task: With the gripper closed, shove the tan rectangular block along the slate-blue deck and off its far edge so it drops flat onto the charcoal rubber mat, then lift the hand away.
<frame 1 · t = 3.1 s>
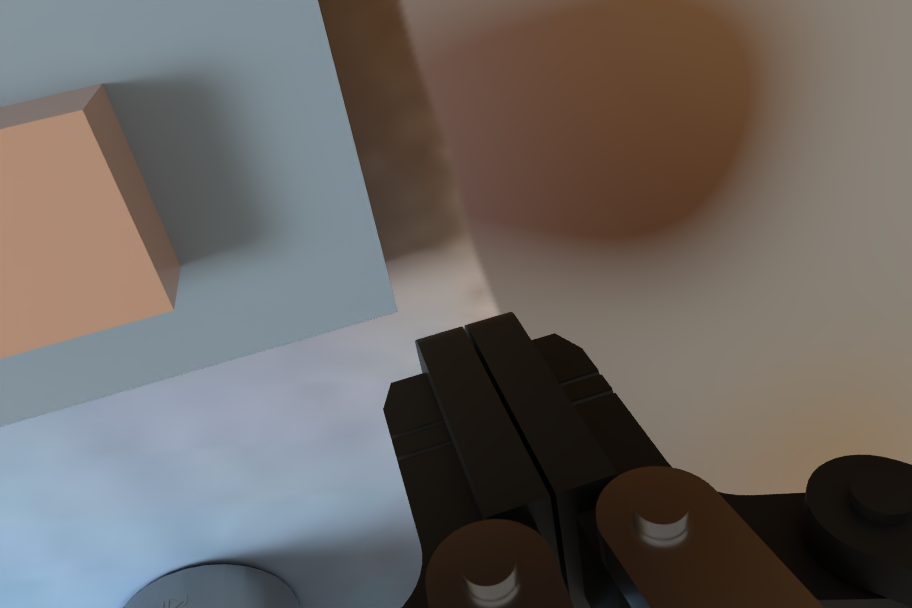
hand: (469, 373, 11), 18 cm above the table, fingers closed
deck: (55, 168, 25), on the table
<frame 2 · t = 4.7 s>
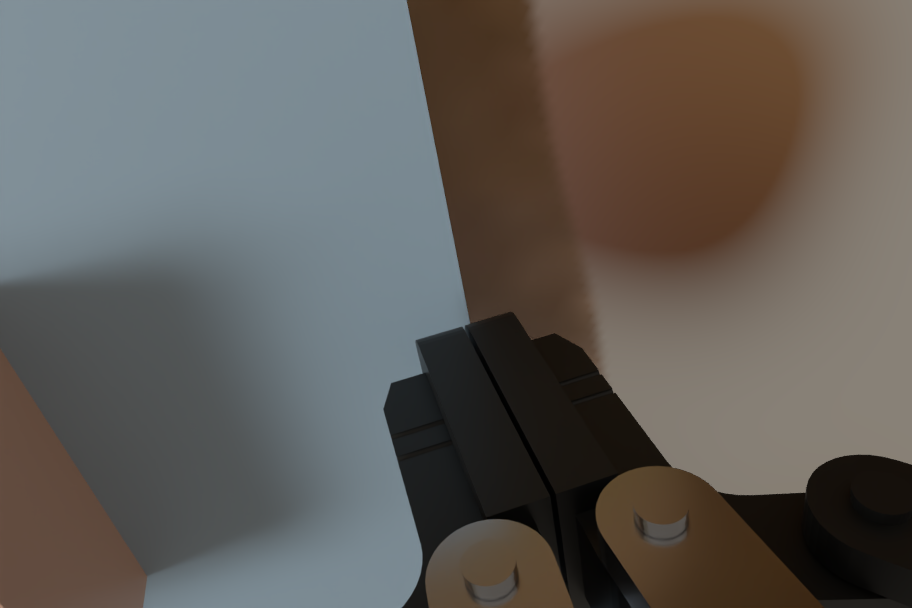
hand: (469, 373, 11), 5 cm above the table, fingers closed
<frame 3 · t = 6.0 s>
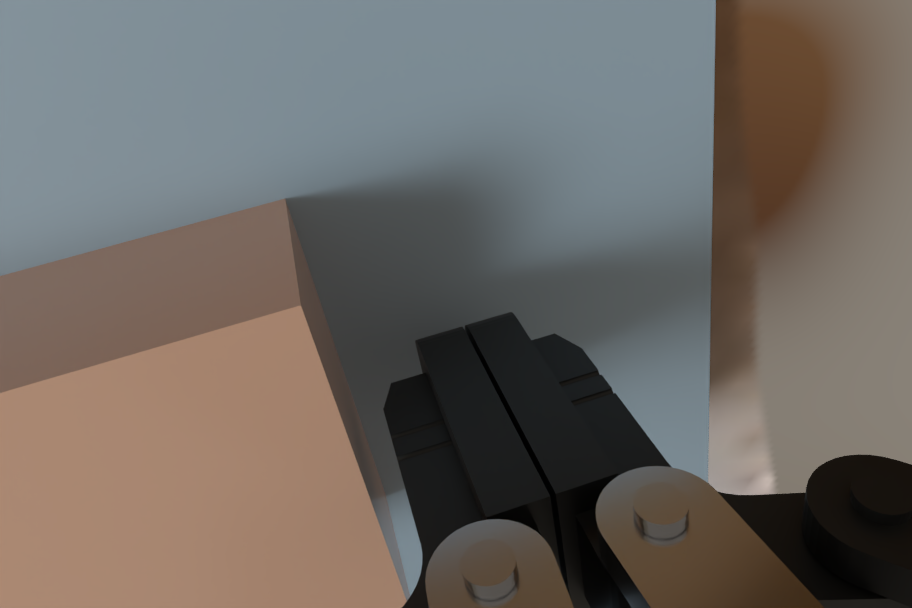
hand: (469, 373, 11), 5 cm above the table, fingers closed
tan rectangular block: (55, 456, 11), point 4 cm above the table, touching deck, gripper
deck: (149, 308, 14), on the table
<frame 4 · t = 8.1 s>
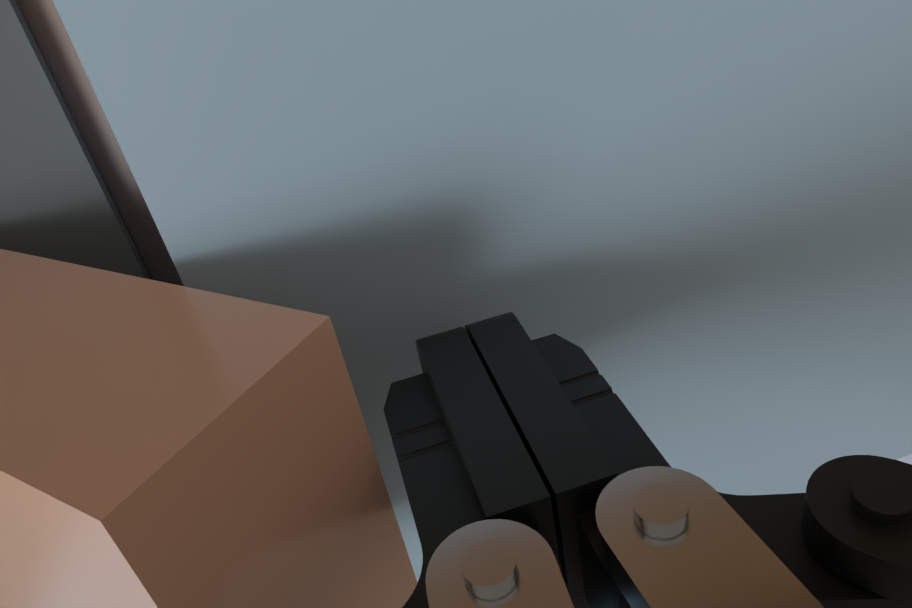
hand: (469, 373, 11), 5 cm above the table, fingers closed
tan rectangular block: (171, 423, 12), point 4 cm above the table, tilted 46°, touching gripper, mat
deck: (681, 161, 16), on the table
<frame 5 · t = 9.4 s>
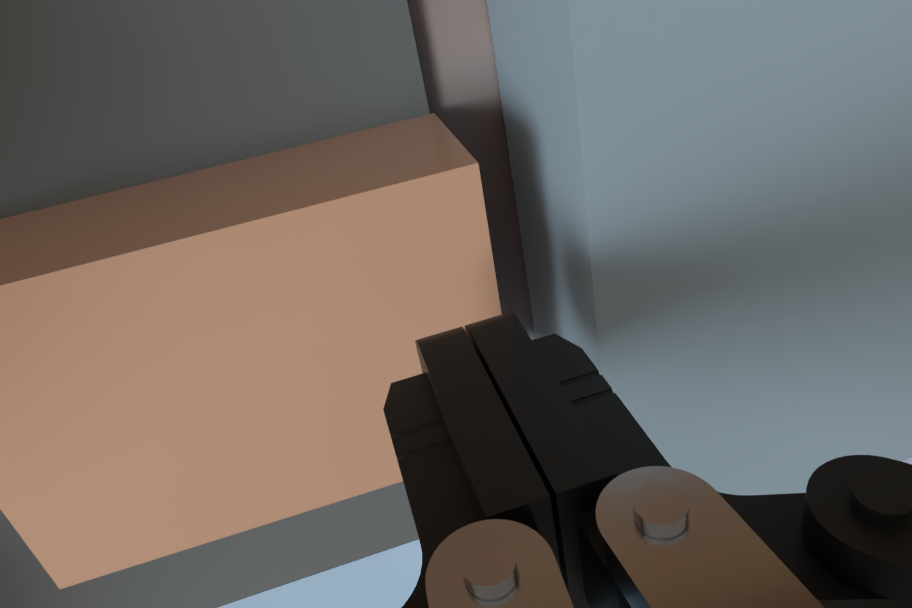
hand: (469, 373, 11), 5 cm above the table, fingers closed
mat: (120, 324, 14), on the table
tan rectangular block: (249, 307, 15), resting on mat
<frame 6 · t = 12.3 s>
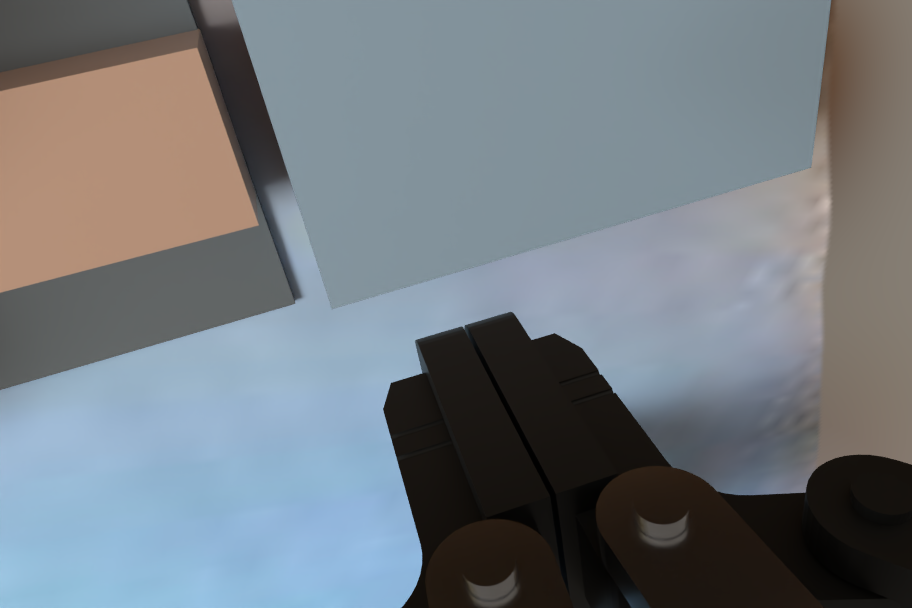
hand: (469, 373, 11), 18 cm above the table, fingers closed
mat: (22, 155, 24), on the table
tan rectangular block: (99, 146, 25), resting on mat
deck: (526, 29, 27), on the table
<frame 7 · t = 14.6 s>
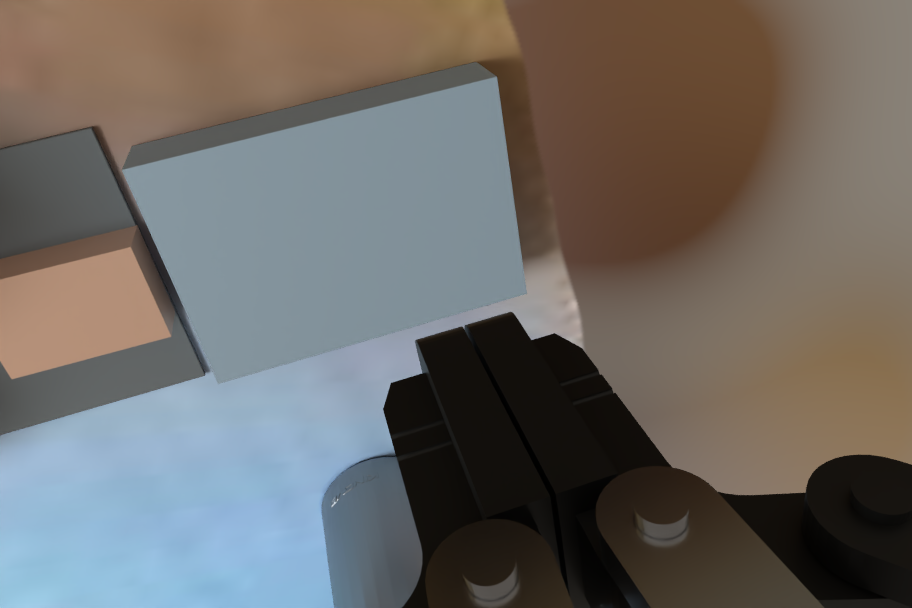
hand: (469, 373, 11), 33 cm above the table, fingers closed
mat: (34, 295, 42), on the table
tan rectangular block: (79, 289, 42), resting on mat
deck: (340, 213, 44), on the table
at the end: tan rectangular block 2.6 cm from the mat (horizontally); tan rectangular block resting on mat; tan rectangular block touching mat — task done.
